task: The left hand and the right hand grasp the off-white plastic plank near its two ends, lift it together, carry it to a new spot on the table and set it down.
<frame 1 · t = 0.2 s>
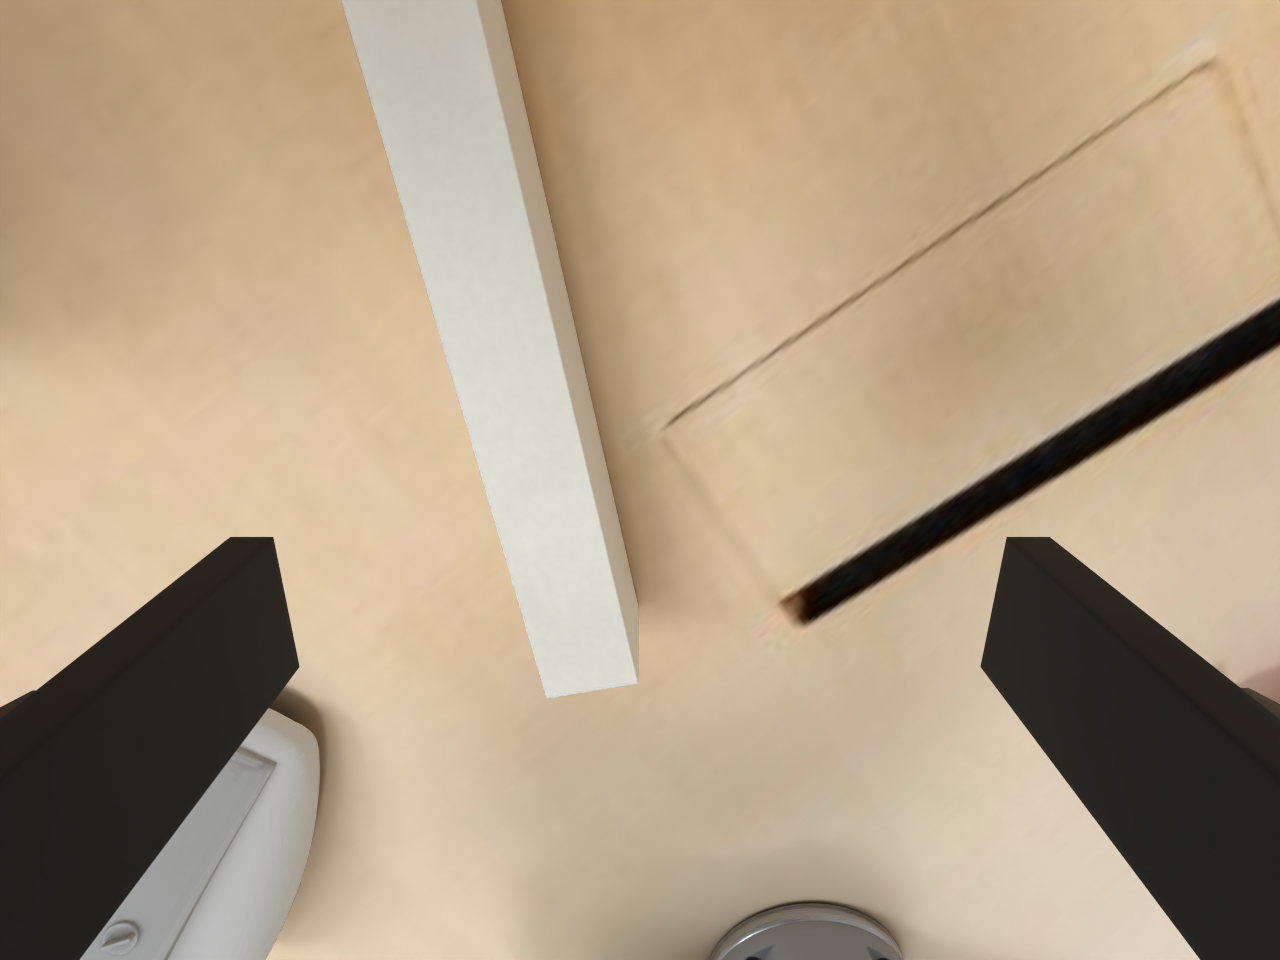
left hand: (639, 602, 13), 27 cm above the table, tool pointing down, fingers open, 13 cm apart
plank: (448, 9, 33), on the table
projector: (212, 806, 50), on the table
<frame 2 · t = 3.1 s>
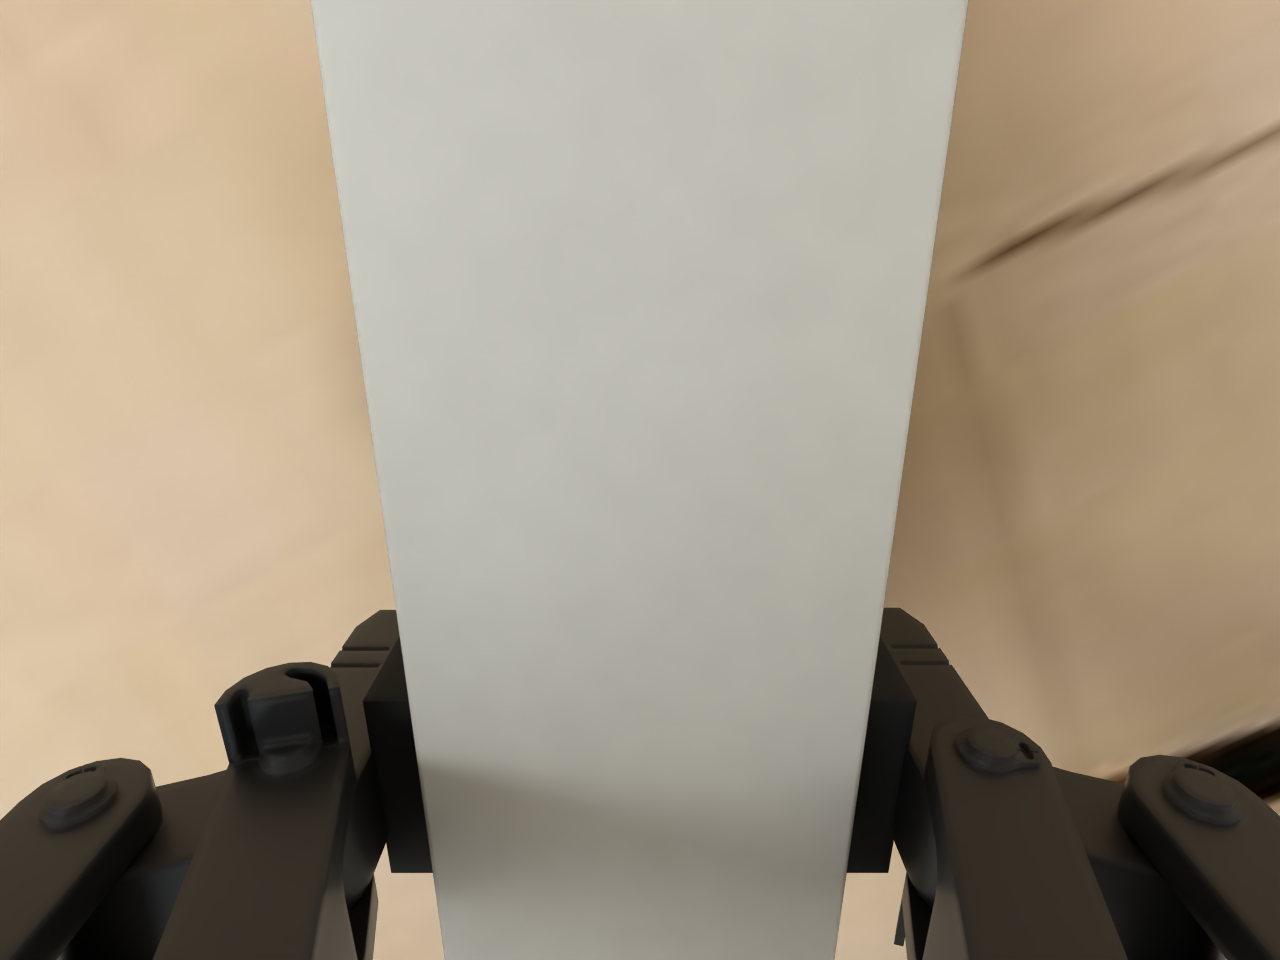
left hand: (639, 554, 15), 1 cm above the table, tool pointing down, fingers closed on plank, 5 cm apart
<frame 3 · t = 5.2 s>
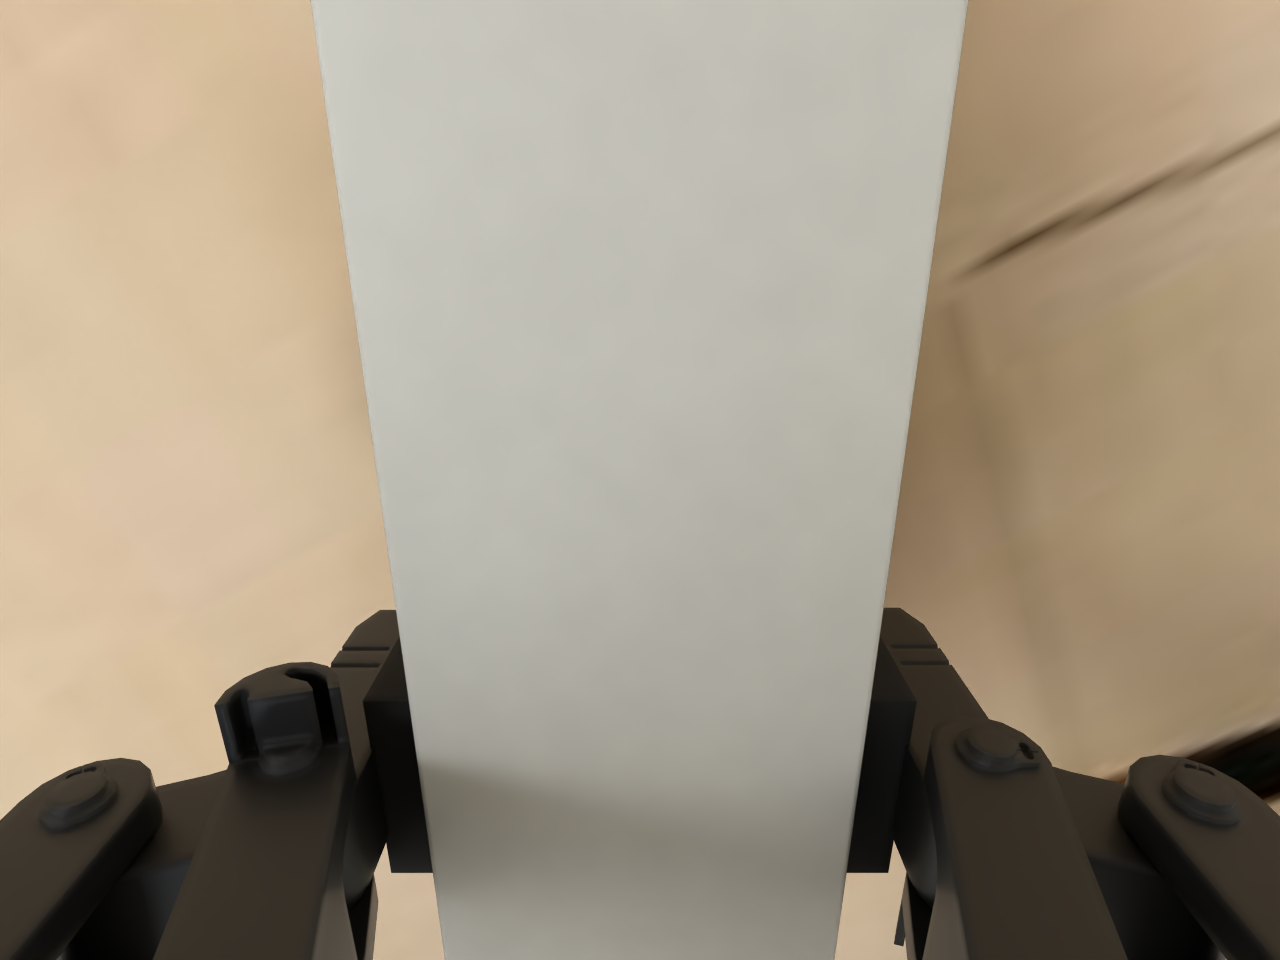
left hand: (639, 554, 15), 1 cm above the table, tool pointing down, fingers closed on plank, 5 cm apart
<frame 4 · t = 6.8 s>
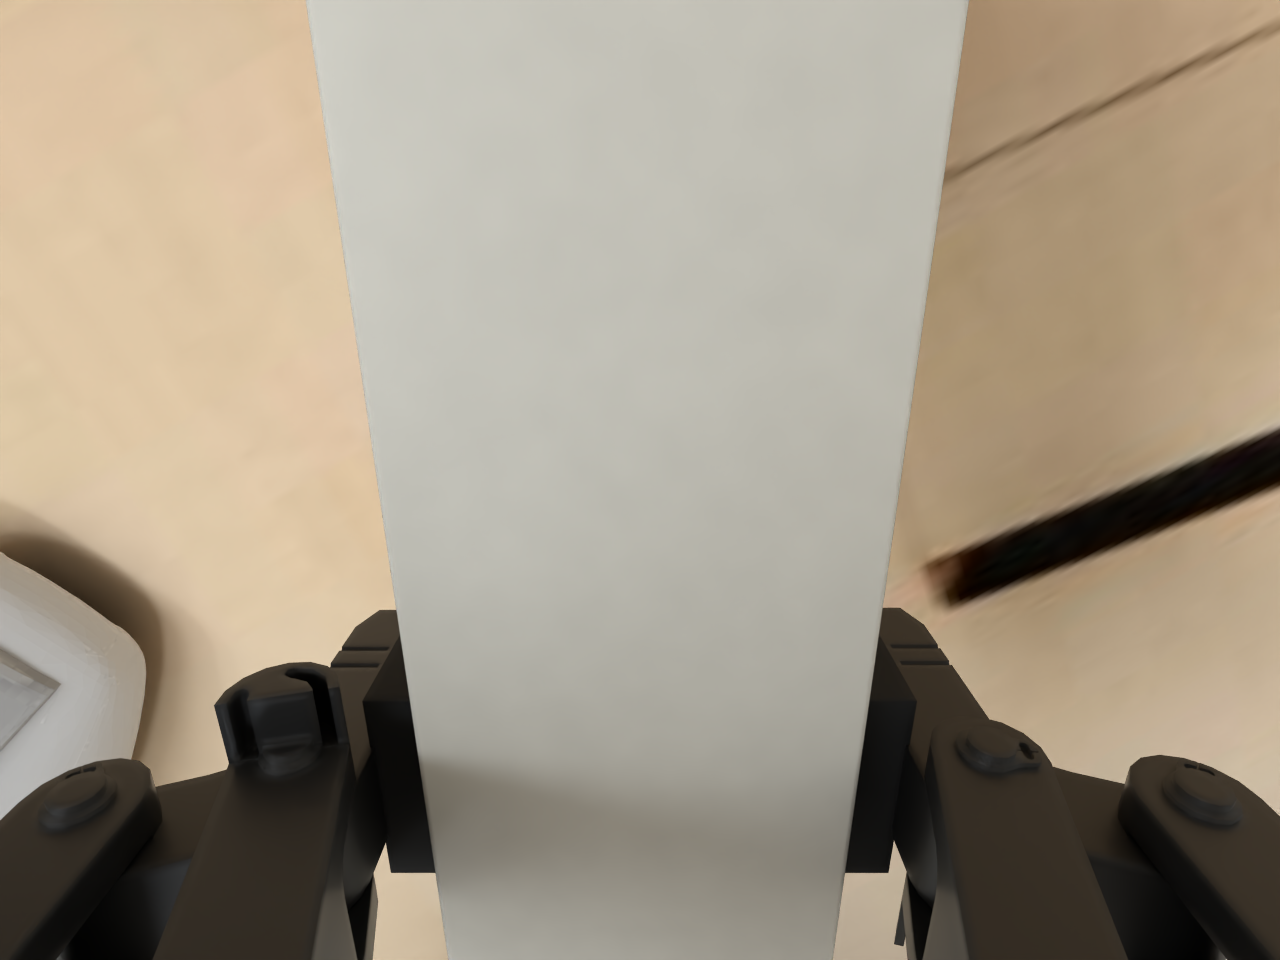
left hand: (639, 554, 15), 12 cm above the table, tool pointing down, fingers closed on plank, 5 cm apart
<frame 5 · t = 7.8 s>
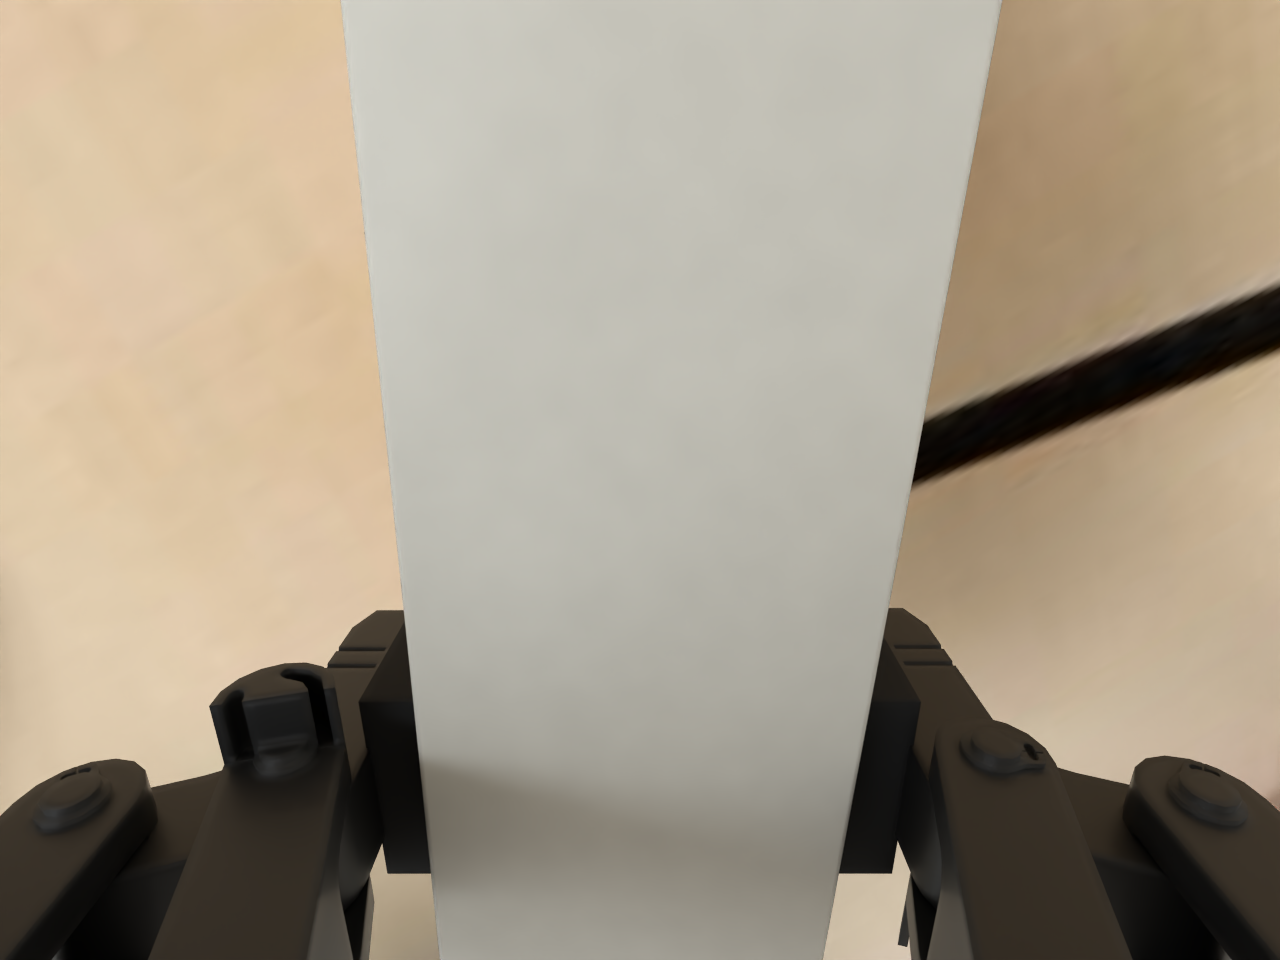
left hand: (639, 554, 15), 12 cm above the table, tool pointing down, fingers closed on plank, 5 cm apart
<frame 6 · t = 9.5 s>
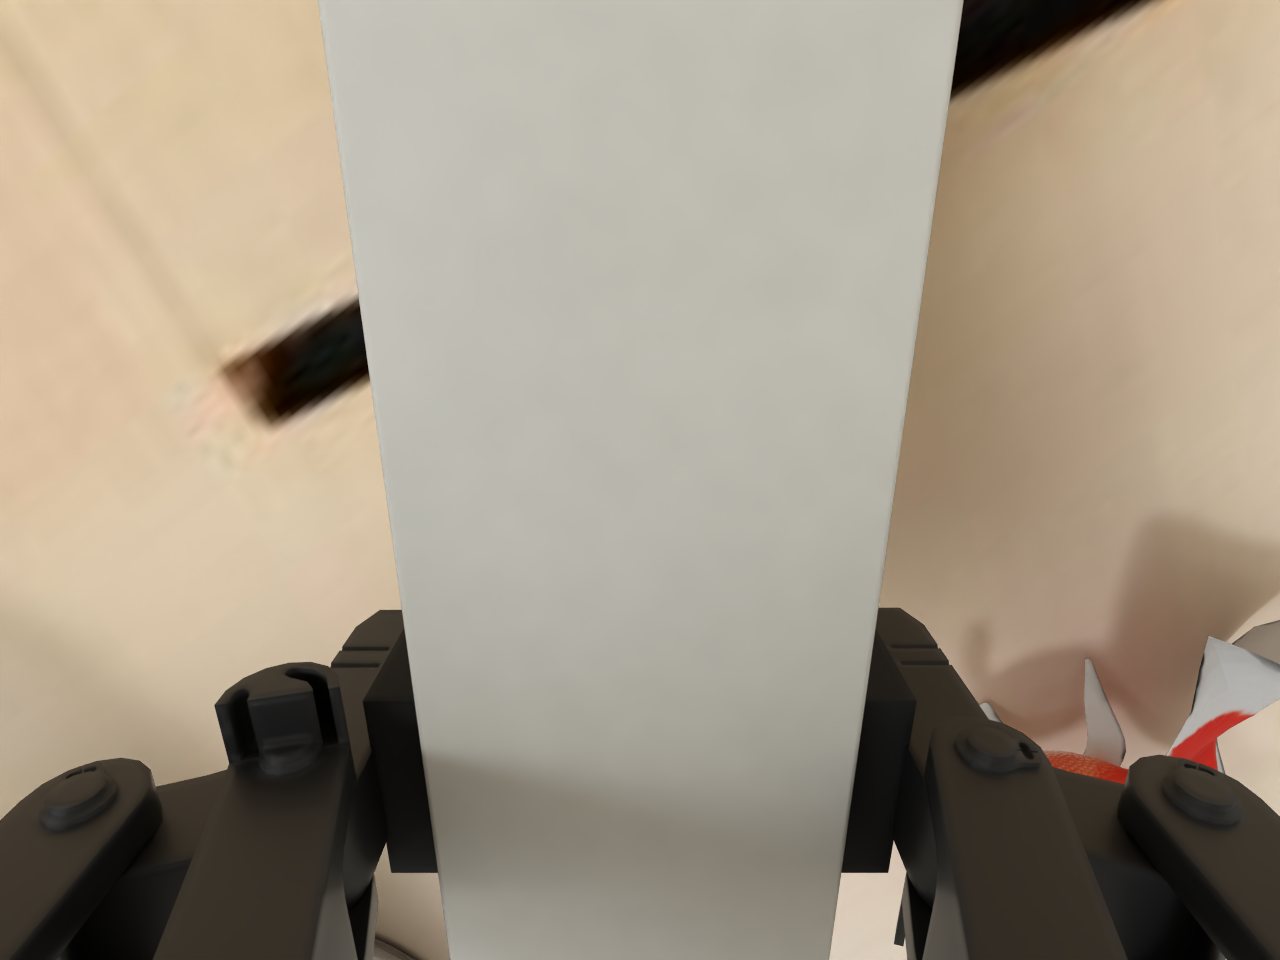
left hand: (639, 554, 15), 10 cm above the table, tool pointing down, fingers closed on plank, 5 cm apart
fish: (1082, 687, 28), on the table
when the right hand's fingers open (1 cm above the table, at t = 10.7 s): plank stays where it is, on the table.
when the left hand's fingers open (1 cm above the table, at t = 10.8 s): plank stays where it is, on the table.
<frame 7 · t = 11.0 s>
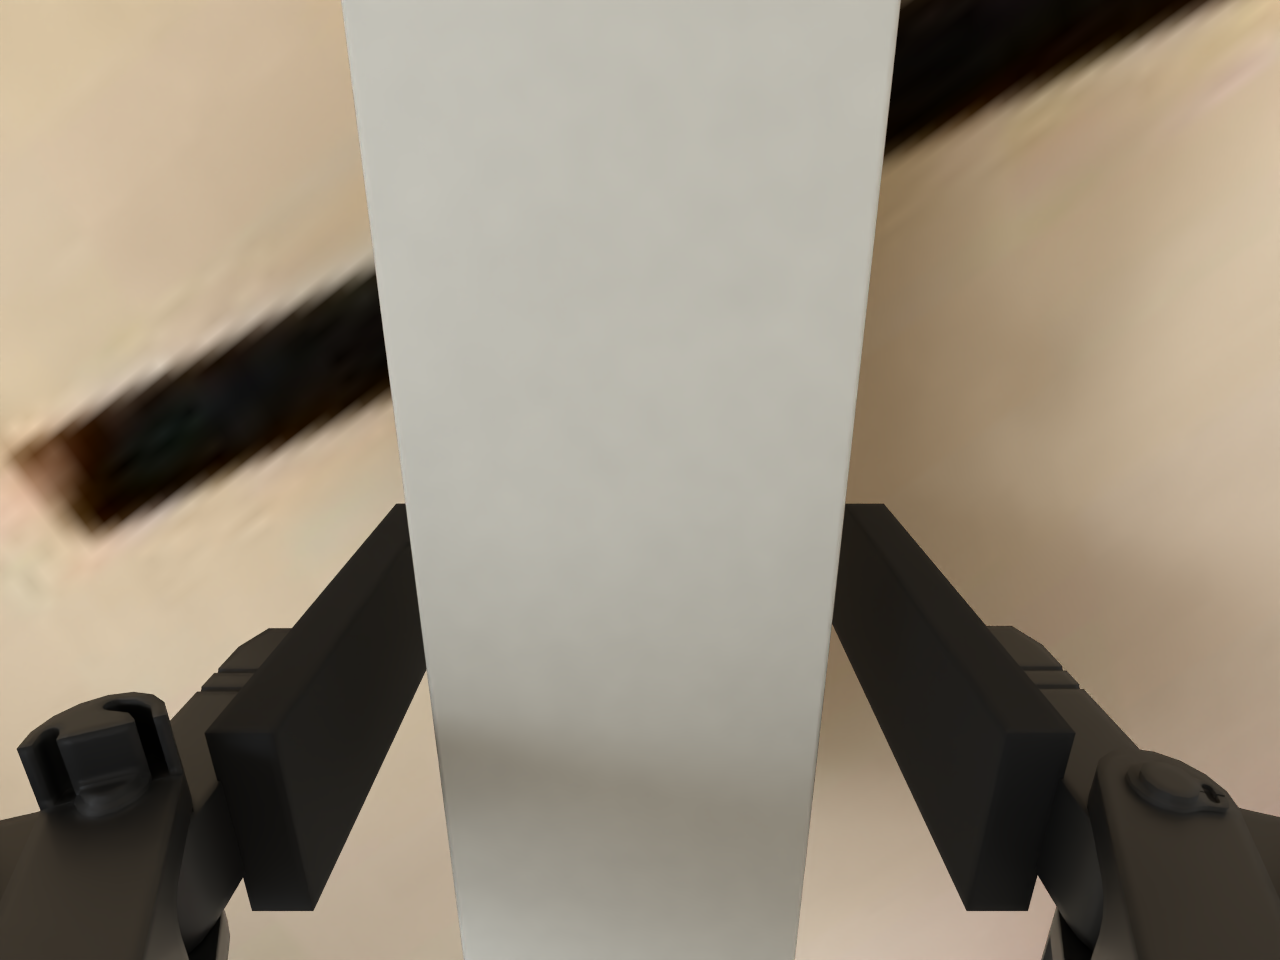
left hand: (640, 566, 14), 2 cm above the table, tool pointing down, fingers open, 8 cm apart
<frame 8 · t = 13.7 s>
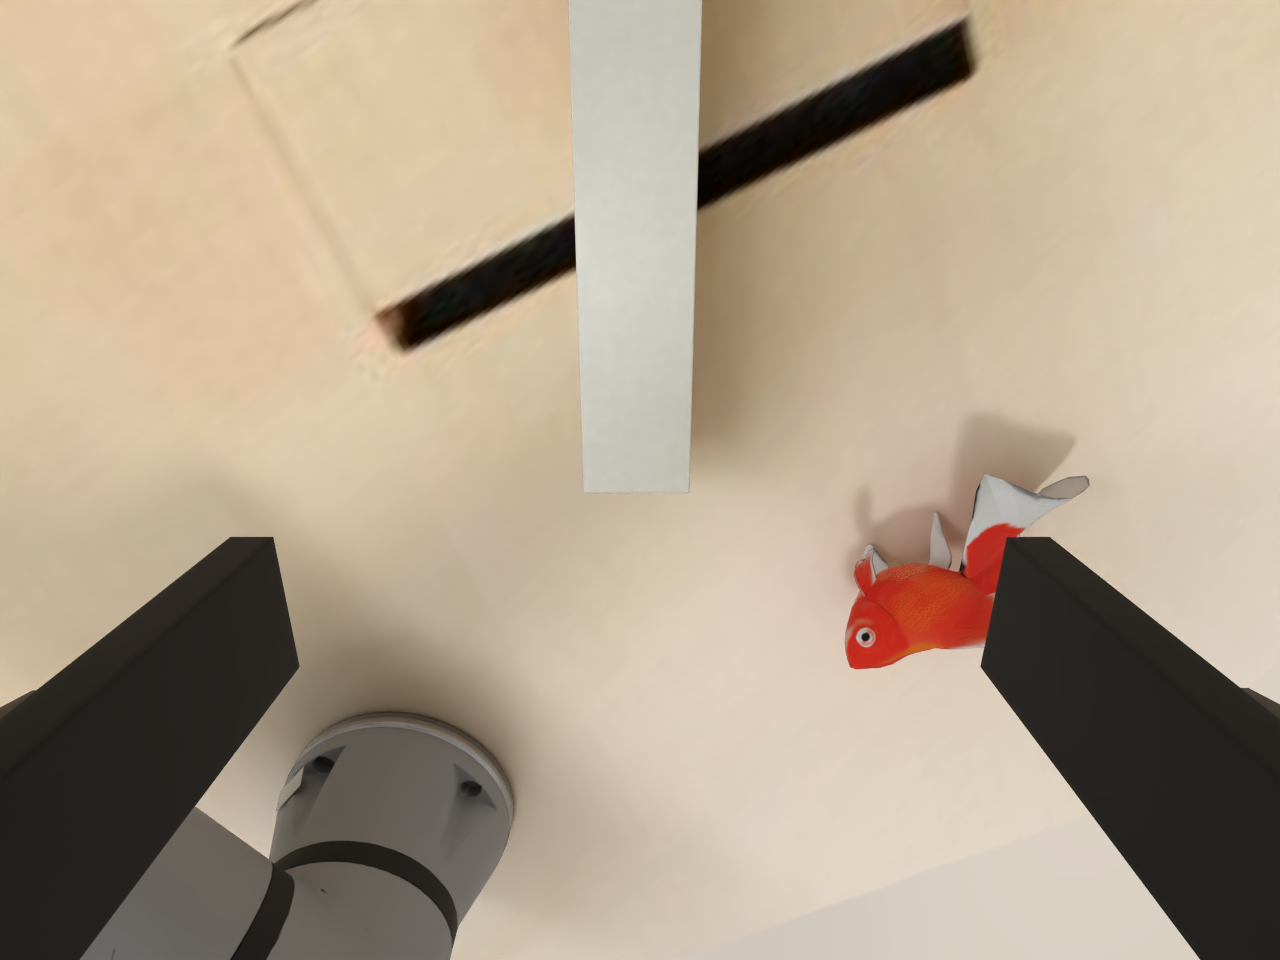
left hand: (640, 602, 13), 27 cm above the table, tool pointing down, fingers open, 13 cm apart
fish: (935, 533, 42), on the table
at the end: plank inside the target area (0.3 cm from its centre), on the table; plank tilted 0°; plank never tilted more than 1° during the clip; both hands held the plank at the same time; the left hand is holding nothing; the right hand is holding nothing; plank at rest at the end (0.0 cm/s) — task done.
